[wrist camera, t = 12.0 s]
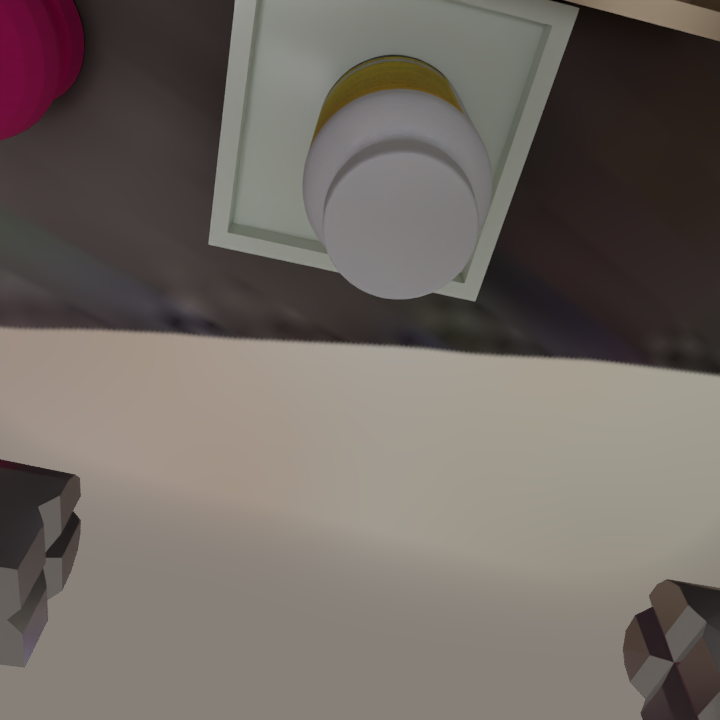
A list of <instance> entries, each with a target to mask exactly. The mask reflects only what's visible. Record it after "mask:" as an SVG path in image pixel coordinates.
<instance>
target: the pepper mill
mask: <svg viewBox="0 0 720 720" xmlns="http://www.w3.org/2000/svg"><path fill="white" fill-rule="evenodd" d="M83 55H84V33H83V28H82V23H81V20H80V17H79V13H78V11H77V9H76V6H75V4H74V2H73V0H0V140H3V139H6V138H9V137H12V136H15V135H17V134H19V133H21V132H23V131H25V130H27V129H29V128H30V127H31V126H32V125H34V124H35V123H36V122H37V121H38V120H39V119H40V118H41V117H42V116H43V115H44V113H45V112H46V111H47V110H48V108H49V106H50V105H51V103H52V101H53V100H55V99H57V98H58V97H60V96H61V95H63V94H64V93H65V92H66V91H67V90H68V89H69V88H70V87H71V86H72V84H73V83H74V82H75V80H76V78H77V76H78V74H79V72H80V69H81V66H82V63H83Z"/></svg>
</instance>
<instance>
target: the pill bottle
mask: <svg viewBox="0 0 720 720" xmlns="http://www.w3.org/2000/svg"><path fill="white" fill-rule="evenodd" d="M491 196H492V170H491V165H490V160H489V157H488V153H487V150H486V148H485V145H484V143H483V141H482V139H481V137H480V135H479V133H478V132H477V130H476V128H475V126H474V125H473V123H472V121H471V119H470V117H469V115H468V113H467V111H466V109H465V107H464V105H463V102H462V100H461V98H460V97H459V95H458V93H457V91H456V89H455V88H454V86H453V85H452V84H451V82H450V81H449V80H448V79H447V78H446V76H445V75H443V74H442V73H441V72H440V71H439V70H438V69H436V68H435V67H433V66H432V65H430V64H428V63H426V62H424V61H422V60H420V59H417V58H414V57H410V56H406V55H394V54H392V55H382V56H378V57H373V58H371V59H368V60H365V61H363V62H361V63H359V64H357V65H355V66H354V67H352V68H351V69H349V70H348V71H347V72H346V73H345V74H343V75H342V76H341V77H340V78H339V80H338V81H337V82H336V83H335V84H334V85H333V87H332V88H331V90H330V91H329V93H328V95H327V97H326V99H325V101H324V103H323V106H322V108H321V111H320V115H319V118H318V121H317V125H316V128H315V131H314V135H313V138H312V141H311V145H310V149H309V152H308V155H307V159H306V162H305V167H304V173H303V200H304V206H305V210H306V214H307V217H308V220H309V222H310V224H311V227H312V229H313V231H314V232H315V234H316V236H317V238H318V239H319V240H320V242H321V243H322V244H323V246H324V247H325V248H326V250H327V253H328V255H329V257H330V259H331V261H332V263H333V264H334V266H335V267H336V269H337V270H338V271H339V273H340V274H341V275H342V276H343V277H344V278H345V279H346V280H348V281H349V282H350V283H351V284H353V285H354V286H356V287H357V288H358V289H360V290H362V291H364V292H366V293H369V294H371V295H374V296H377V297H382V298H387V299H411V298H417V297H421V296H424V295H427V294H430V293H432V292H434V291H436V290H438V289H440V288H442V287H443V286H445V285H446V284H448V283H449V282H450V281H452V280H453V279H454V278H455V277H456V276H457V275H458V274H459V273H460V272H461V271H462V269H463V268H464V267H465V265H466V264H467V262H468V261H469V259H470V257H471V255H472V253H473V251H474V248H475V245H476V242H477V237H478V233H479V231H480V230H481V228H482V226H483V223H484V221H485V219H486V216H487V213H488V210H489V206H490V202H491Z"/></svg>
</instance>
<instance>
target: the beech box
mask: <svg viewBox="0 0 720 720" xmlns="http://www.w3.org/2000/svg"><path fill="white" fill-rule="evenodd" d="M565 1H569V2H573V3H577V4H581V5H584V6H588V7H592V8H596V9H600V10H603V11H607V12H611V13H615V14H618V15H622V16H626V17H630V18H634V19H637V20H641V21H645V22H649V23H653V24H656V25H660V26H664V27H668V28H672V29H675V30H679V31H683V32H687V33H691V34H694V35H698V36H702V37H706V38H710V39H713V40H717V41H720V0H565Z"/></svg>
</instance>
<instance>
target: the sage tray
mask: <svg viewBox="0 0 720 720" xmlns="http://www.w3.org/2000/svg"><path fill="white" fill-rule="evenodd" d="M579 9H580V8H578V7H575V6H572V5H570V4H567V3H563V2H559V1H555V0H235V7H234V16H233V25H232V34H231V43H230V52H229V61H228V70H227V80H226V89H225V98H224V107H223V116H222V125H221V134H220V143H219V152H218V161H217V170H216V179H215V189H214V198H213V207H212V216H211V225H210V234H209V243H208V245H213V246H218V247H222V248H227V249H232V250H236V251H241V252H246V253H250V254H255V255H260V256H264V257H269V258H274V259H278V260H283V261H288V262H292V263H297V264H302V265H306V266H311V267H316V268H321V269H325V270H330V271H335V272H339V271H338V270H337V269H336V267H335V266H334V264H333V263H332V261H331V259H330V257H329V255H328V253H327V250H326V248H325V247H324V246H323V244H322V243H321V242H320V240H319V239H318V238H317V236H316V234H315V232H314V231H313V229H312V227H311V224H310V222H309V220H308V217H307V214H306V210H305V206H304V200H303V173H304V167H305V162H306V159H307V155H308V152H309V149H310V145H311V141H312V138H313V135H314V131H315V128H316V125H317V121H318V118H319V115H320V111H321V108H322V106H323V103H324V101H325V99H326V97H327V95H328V93H329V91H330V90H331V88H332V87H333V85H334V84H335V83H336V82H337V81H338V80H339V78H340V77H341V76H342V75H343V74H345V73H346V72H347V71H348V70H349V69H351V68H352V67H354V66H355V65H357V64H359V63H361V62H363V61H365V60H368V59H371V58H373V57H378V56H382V55H392V54H394V55H406V56H410V57H414V58H417V59H420V60H422V61H424V62H426V63H428V64H430V65H432V66H433V67H435V68H436V69H438V70H439V71H440V72H441V73H442V74H443V75H445V76H446V78H447V79H448V80H449V81H450V82H451V84H452V85H453V86H454V88H455V89H456V91H457V93H458V95H459V97H460V98H461V100H462V102H463V105H464V107H465V109H466V111H467V113H468V115H469V117H470V119H471V121H472V123H473V125H474V126H475V128H476V130H477V132H478V133H479V135H480V137H481V139H482V141H483V143H484V145H485V148H486V150H487V153H488V157H489V160H490V165H491V170H492V196H491V202H490V206H489V210H488V213H487V216H486V219H485V221H484V223H483V226H482V228H481V230H480V231H479V233H478V237H477V242H476V245H475V248H474V251H473V253H472V255H471V257H470V259H469V261H468V262H467V264H466V265H465V267H464V268H463V269H462V271H461V272H460V273H459V274H458V275H457V276H456V277H455V278H454V279H453V280H452V281H450V282H449V283H448V284H446V285H445V286H443V287H442V288H440V289H438V290H436V291H434V292H433V293H437V294H442V295H447V296H451V297H456V298H461V299H466V300H470V301H476V298H477V295H478V293H479V290H480V287H481V284H482V281H483V278H484V276H485V273H486V270H487V267H488V264H489V262H490V259H491V256H492V253H493V250H494V248H495V245H496V242H497V239H498V236H499V234H500V231H501V228H502V225H503V222H504V219H505V217H506V214H507V211H508V208H509V205H510V203H511V200H512V197H513V194H514V191H515V189H516V186H517V183H518V180H519V177H520V174H521V172H522V169H523V166H524V163H525V160H526V158H527V155H528V152H529V149H530V146H531V144H532V141H533V138H534V135H535V132H536V130H537V127H538V124H539V121H540V118H541V115H542V113H543V110H544V107H545V104H546V101H547V99H548V96H549V93H550V90H551V87H552V85H553V82H554V79H555V76H556V73H557V71H558V68H559V65H560V62H561V59H562V56H563V54H564V51H565V48H566V45H567V42H568V40H569V37H570V34H571V31H572V28H573V26H574V23H575V20H576V17H577V14H578V12H579Z"/></svg>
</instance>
